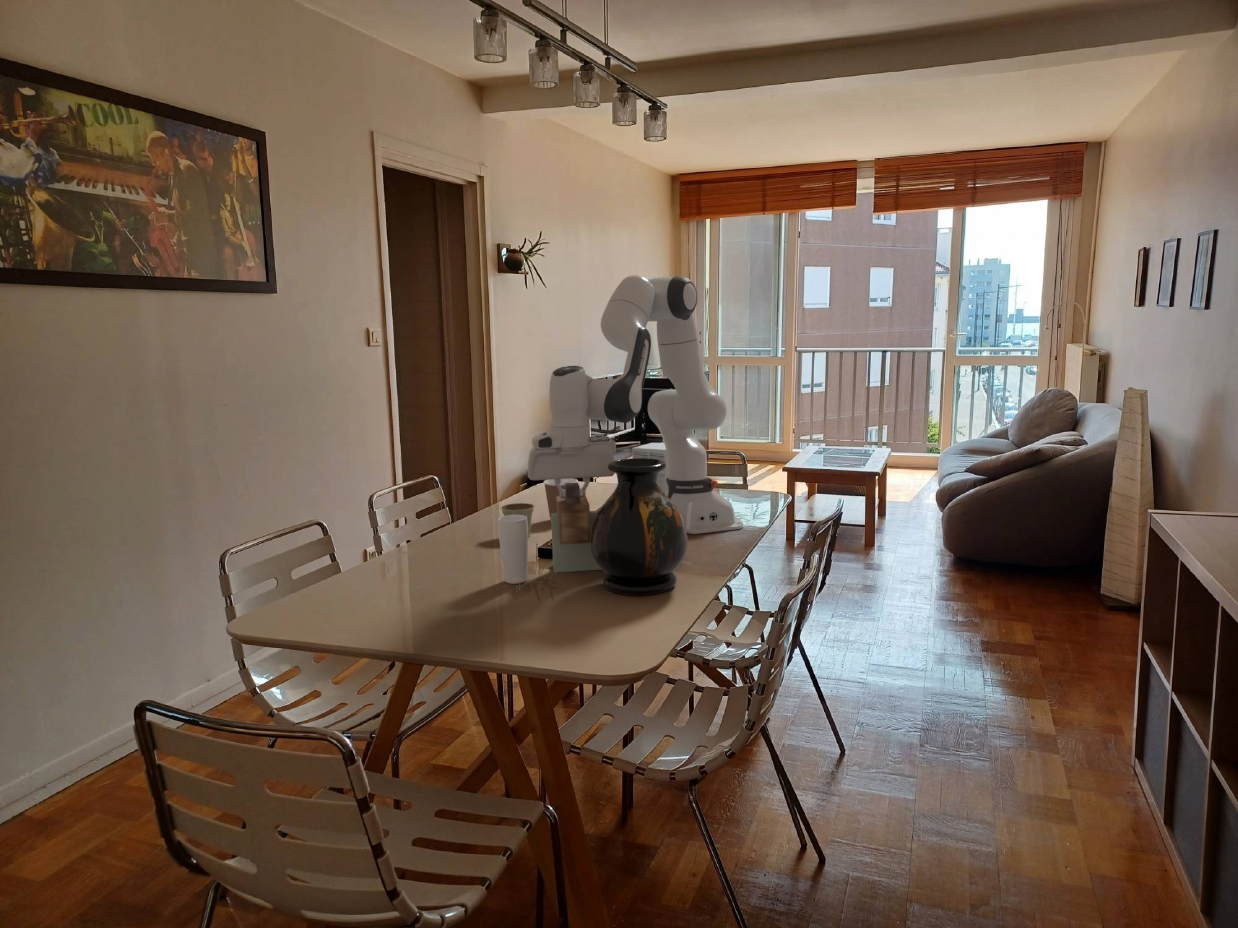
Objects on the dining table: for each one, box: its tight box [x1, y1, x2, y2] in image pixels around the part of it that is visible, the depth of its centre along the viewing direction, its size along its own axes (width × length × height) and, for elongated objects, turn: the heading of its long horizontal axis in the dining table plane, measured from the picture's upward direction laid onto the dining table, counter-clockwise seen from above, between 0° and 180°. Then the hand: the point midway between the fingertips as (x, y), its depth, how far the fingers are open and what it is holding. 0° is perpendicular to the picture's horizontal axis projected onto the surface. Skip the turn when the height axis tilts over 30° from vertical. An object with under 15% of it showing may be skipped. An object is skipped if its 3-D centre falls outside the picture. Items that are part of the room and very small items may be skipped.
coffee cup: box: [543, 478, 579, 520], centre depth 255 cm, size 10×10×12 cm
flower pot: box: [500, 502, 536, 538], centre depth 237 cm, size 9×9×9 cm
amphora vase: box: [591, 458, 689, 596], centre depth 188 cm, size 22×22×28 cm
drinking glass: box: [497, 515, 529, 585], centre depth 196 cm, size 7×7×15 cm
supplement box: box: [631, 442, 668, 496], centre depth 283 cm, size 13×13×18 cm
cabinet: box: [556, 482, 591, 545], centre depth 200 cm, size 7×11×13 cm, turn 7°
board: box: [550, 510, 602, 573], centre depth 206 cm, size 16×6×14 cm, turn 97°
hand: (572, 497), depth 197 cm, fingers closed on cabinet, 3 cm apart
